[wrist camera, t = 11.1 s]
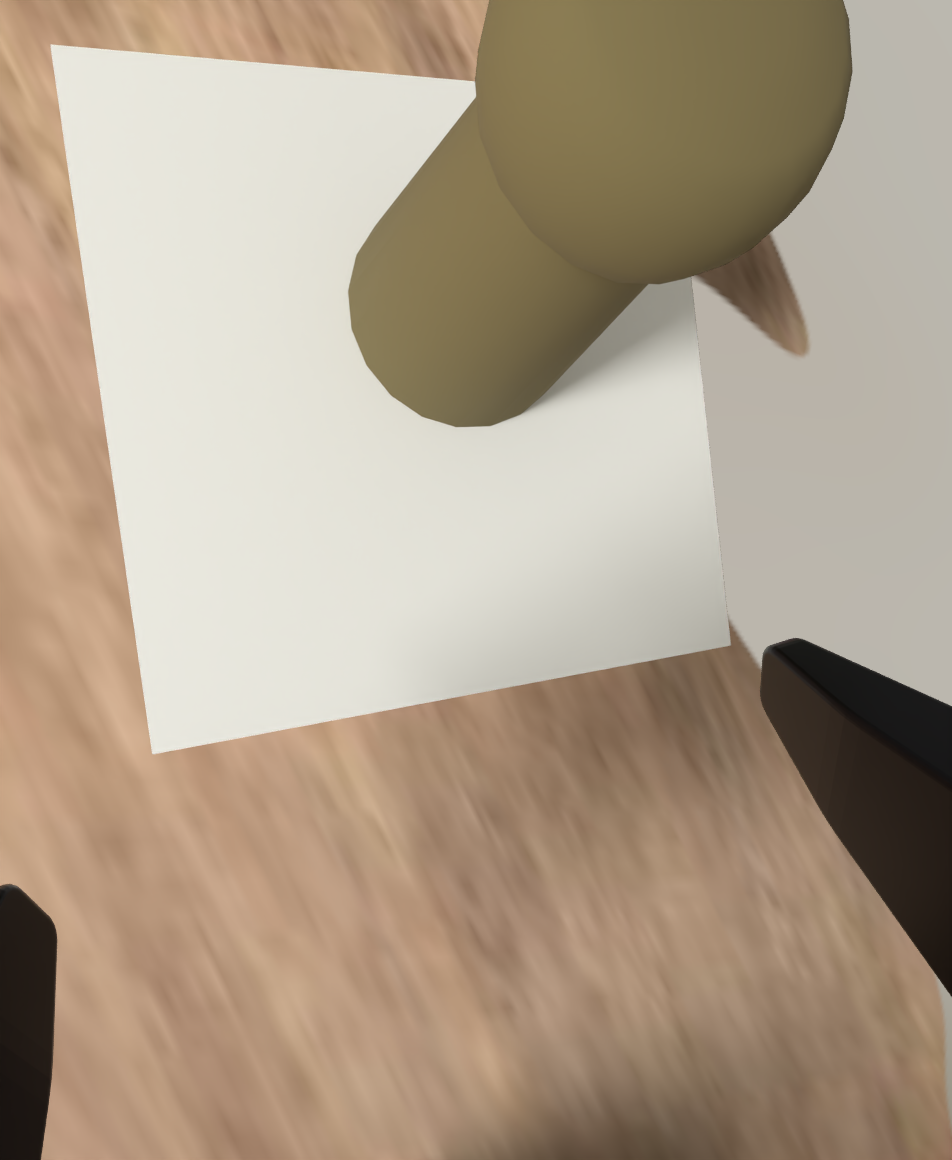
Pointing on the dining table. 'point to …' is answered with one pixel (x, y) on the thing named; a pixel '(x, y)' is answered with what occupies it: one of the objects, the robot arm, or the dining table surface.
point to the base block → (351, 422)
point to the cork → (591, 185)
